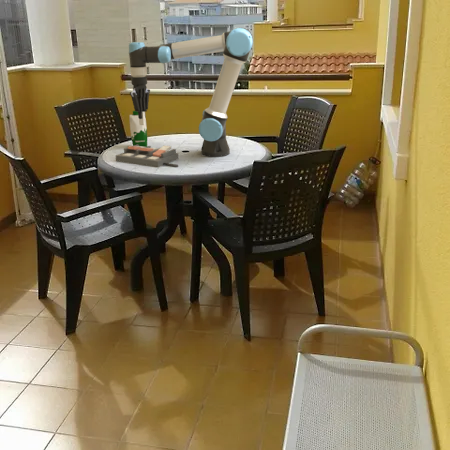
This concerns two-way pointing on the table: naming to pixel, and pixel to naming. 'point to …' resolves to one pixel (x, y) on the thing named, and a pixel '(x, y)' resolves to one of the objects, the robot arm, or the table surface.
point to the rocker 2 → (161, 151)
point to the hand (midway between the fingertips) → (142, 124)
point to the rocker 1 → (135, 147)
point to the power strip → (147, 157)
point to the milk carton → (138, 131)
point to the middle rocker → (148, 149)
